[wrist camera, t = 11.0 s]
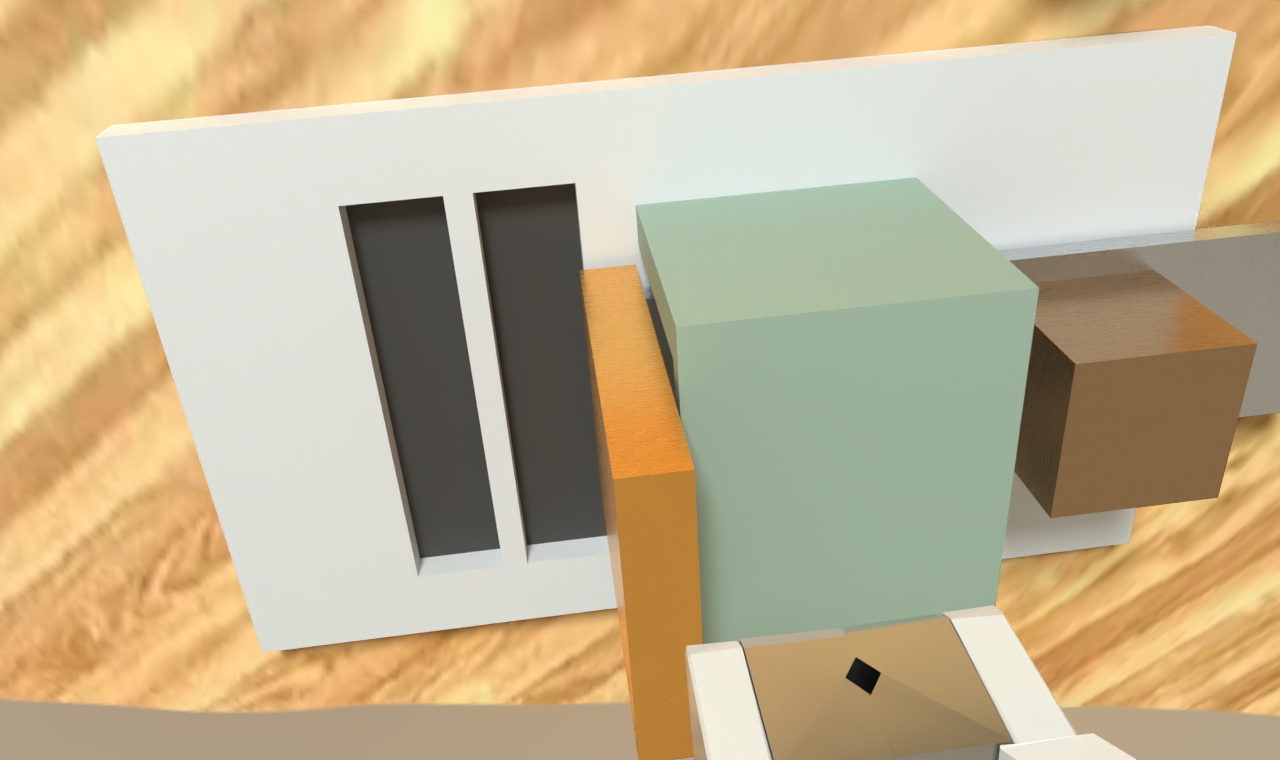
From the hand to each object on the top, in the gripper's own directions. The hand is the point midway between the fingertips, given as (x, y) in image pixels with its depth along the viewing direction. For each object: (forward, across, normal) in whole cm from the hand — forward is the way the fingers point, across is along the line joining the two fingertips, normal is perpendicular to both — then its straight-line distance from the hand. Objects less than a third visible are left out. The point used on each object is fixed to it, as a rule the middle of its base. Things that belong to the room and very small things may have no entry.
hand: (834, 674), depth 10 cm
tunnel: (+27, -5, +12) cm, 30 cm away
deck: (+29, -2, +12) cm, 31 cm away
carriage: (+27, -12, +12) cm, 32 cm away
